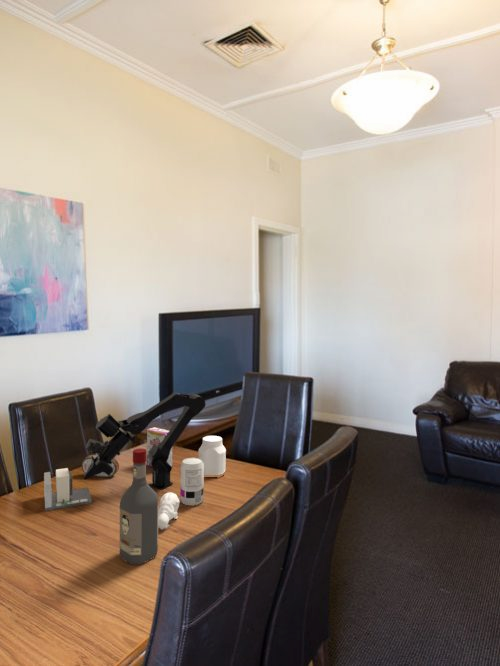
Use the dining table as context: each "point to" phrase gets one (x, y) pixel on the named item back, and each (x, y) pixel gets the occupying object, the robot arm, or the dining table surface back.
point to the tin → (115, 466)
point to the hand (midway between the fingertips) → (84, 478)
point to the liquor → (139, 516)
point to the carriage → (63, 485)
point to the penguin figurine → (167, 509)
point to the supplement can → (192, 481)
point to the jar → (213, 455)
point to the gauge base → (74, 500)
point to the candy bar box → (156, 441)
